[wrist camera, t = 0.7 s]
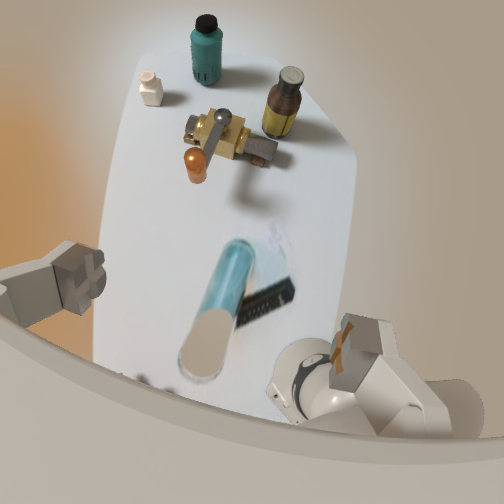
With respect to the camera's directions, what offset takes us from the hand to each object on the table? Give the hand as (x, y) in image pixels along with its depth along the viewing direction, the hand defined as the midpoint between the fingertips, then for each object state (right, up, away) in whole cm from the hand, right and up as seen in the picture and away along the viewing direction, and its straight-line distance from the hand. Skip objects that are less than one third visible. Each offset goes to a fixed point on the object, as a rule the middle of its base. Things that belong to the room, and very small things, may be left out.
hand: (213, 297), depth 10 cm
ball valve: (-3, +24, +54) cm, 59 cm away
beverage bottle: (-9, +41, +55) cm, 70 cm away
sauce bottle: (+6, +28, +56) cm, 63 cm away
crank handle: (-6, +20, +43) cm, 48 cm away
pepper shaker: (-21, +35, +54) cm, 67 cm away
